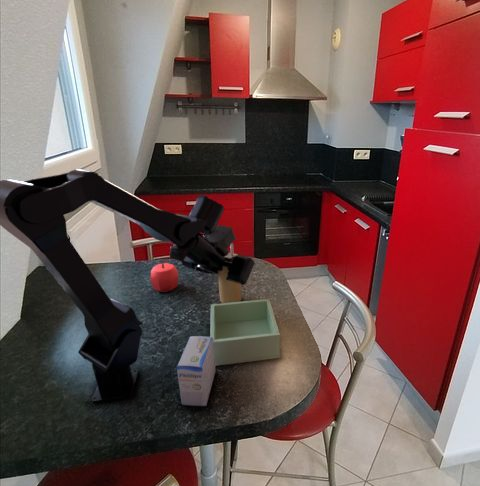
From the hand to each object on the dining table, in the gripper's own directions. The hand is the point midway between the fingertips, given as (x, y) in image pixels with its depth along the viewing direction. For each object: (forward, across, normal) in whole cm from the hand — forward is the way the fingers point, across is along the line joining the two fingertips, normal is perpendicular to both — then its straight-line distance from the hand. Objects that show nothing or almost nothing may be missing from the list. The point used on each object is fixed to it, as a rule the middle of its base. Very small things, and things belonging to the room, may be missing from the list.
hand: (232, 274), depth 83 cm
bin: (-3, -12, +14) cm, 19 cm away
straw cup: (+4, 0, +6) cm, 7 cm away
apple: (+2, +21, +9) cm, 23 cm away
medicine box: (-14, -13, +25) cm, 31 cm away
